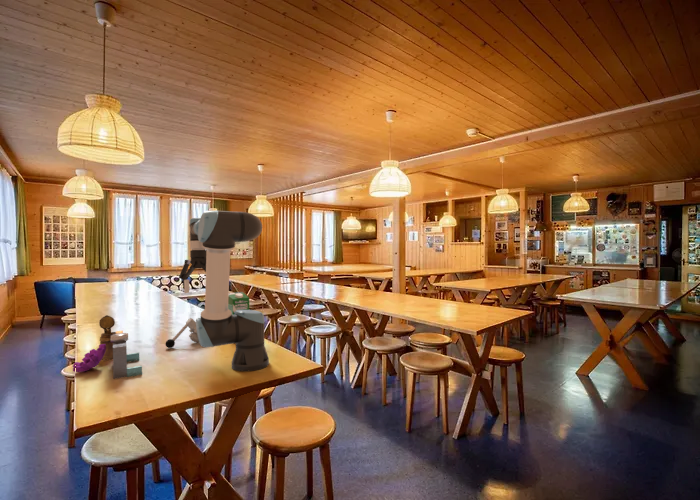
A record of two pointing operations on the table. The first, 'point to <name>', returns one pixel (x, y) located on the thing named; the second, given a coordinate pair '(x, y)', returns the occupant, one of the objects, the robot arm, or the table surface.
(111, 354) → the brown disc topped figure
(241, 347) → the robot arm
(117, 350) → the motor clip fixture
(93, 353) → the purple toothed curved piece
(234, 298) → the milk carton
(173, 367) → the table surface
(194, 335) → the valve
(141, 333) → the table surface
